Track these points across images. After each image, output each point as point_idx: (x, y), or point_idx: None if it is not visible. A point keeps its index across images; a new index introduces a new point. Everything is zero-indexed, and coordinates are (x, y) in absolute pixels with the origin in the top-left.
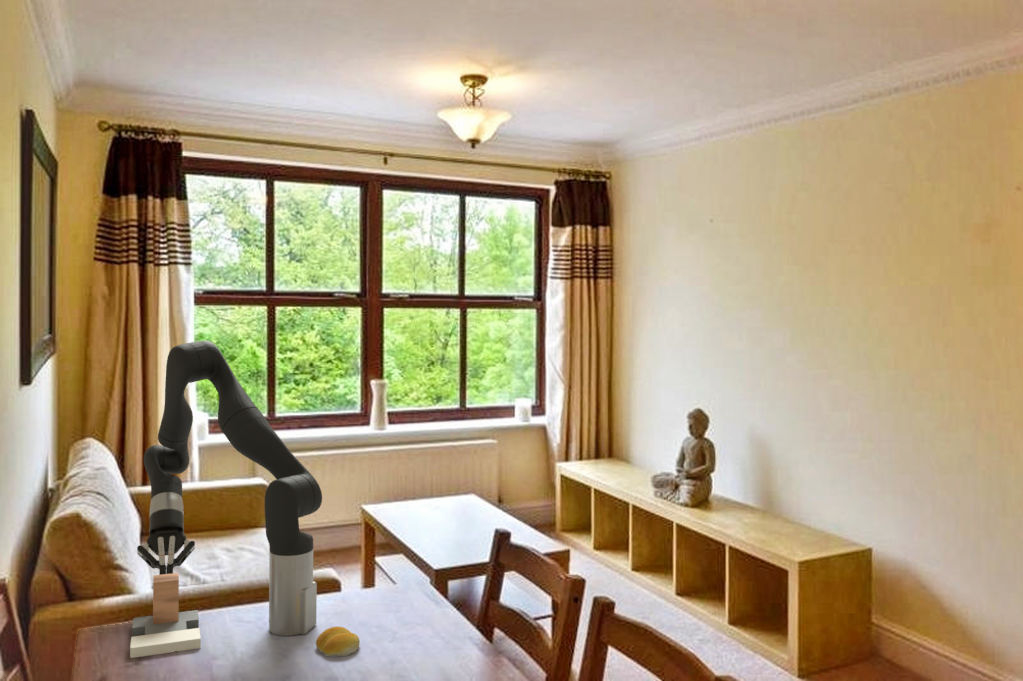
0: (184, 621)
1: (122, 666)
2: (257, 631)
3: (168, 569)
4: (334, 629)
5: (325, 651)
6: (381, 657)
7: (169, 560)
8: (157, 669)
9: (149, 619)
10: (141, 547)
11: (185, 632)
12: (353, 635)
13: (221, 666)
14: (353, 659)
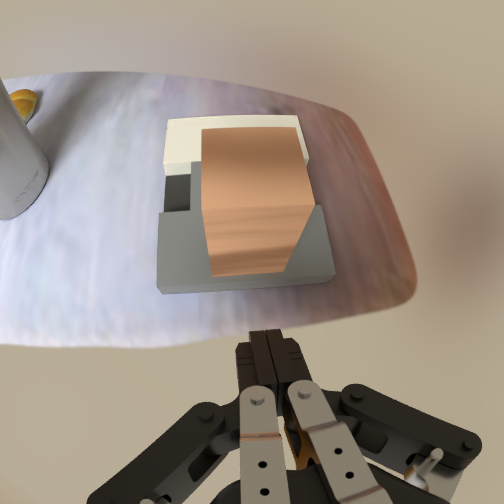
0: (194, 208)
1: (298, 110)
2: (63, 182)
3: (261, 365)
4: None
5: (36, 95)
6: None
7: (264, 406)
8: (241, 90)
9: None
10: (462, 449)
11: (194, 148)
12: None
13: (152, 83)
14: None
